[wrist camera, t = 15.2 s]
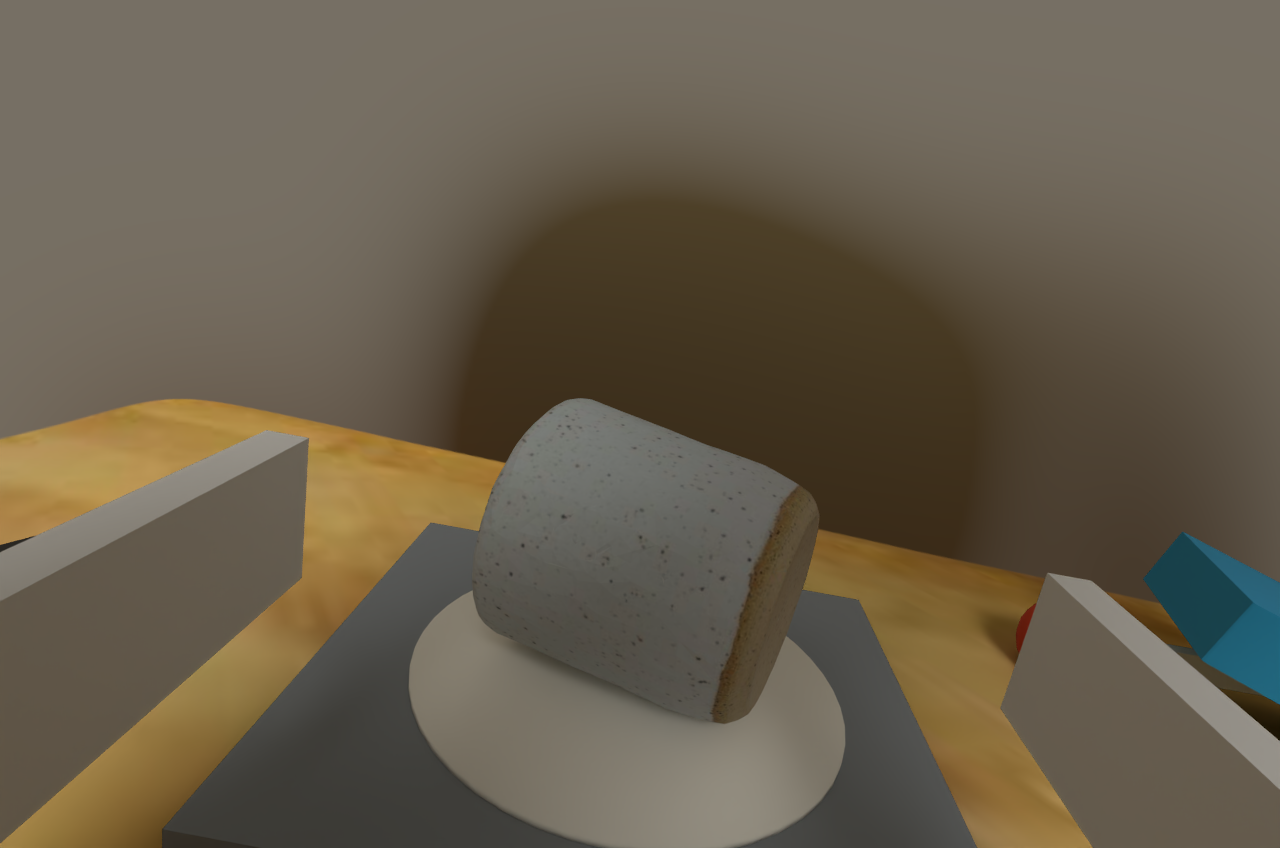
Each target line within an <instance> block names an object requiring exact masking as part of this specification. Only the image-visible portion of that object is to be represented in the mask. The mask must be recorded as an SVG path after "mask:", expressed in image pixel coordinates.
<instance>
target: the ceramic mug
mask: <svg viewBox="0 0 1280 848" xmlns="http://www.w3.org/2000/svg"><path fill="white" fill-rule="evenodd" d="M818 523H819V512H818V509H817V505H816V502H815V500H814V499H813V497H812V495H811V493H809V492H808V491H807V490H805V489H804V488H802V487H801V486H800V485H798V484H796V483H795V482H793V481H792V480H790V479H788V478H786V477H784V476H783V475H781V474H779V473H777V472H776V471H774V470H772V469H771V468H769V467H767V466H765V465H762V464H760V463H757V462H754V461H751V460H749V459H746V458H743V457H740V456H737V455H735V454H732V453H729V452H726V451H723V450H720V449H717V448H714V447H711V446H708V445H705V444H703V443H700V442H698V441H695V440H693V439H691V438H688V437H685V436H683V435H680V434H678V433H676V432H673V431H671V430H668V429H666V428H663V427H660V426H658V425H655V424H653V423H650V422H648V421H645V420H642V419H640V418H637V417H634V416H632V415H629V414H627V413H624V412H622V411H619V410H616V409H614V408H611V407H609V406H606V405H604V404H601V403H599V402H596V401H594V400H591V399H582V398H579V399H571V400H566V401H564V402H563V403H561V404H559V405H557V406H555V407H553V408H552V409H551V410H549V411H548V412H547V413H546V414H545V415H544V416H542V417H541V418H540V419H539V420H538V421H537V422H536V423H534V425H532V427H531V428H530V429H529V430H528V431H527V432H526V433H525V434H524V436H523V437H522V438H521V440H520V441H519V442H518V444H517V445H516V447H515V448H514V449H513V451H512V453H511V455H510V457H509V459H508V461H507V462H506V464H505V466H504V467H503V469H502V471H501V473H500V474H499V476H498V478H497V480H496V482H495V484H494V486H493V488H492V491H491V494H490V497H489V500H488V503H487V506H486V509H485V513H484V516H483V519H482V522H481V525H480V530H479V534H478V538H477V542H476V546H475V550H474V555H473V572H472V587H473V598H474V602H475V606H476V610H477V612H478V615H479V617H480V618H481V619H482V621H483V622H484V623H485V624H486V625H487V626H488V627H489V628H491V629H492V630H493V631H494V632H496V633H497V634H500V635H502V636H505V637H507V638H509V639H512V640H514V641H516V642H519V643H521V644H524V645H526V646H528V647H530V648H532V649H535V650H537V651H539V652H541V653H543V654H546V655H548V656H550V657H552V658H554V659H557V660H559V661H561V662H563V663H565V664H567V665H570V666H572V667H574V668H577V669H579V670H582V671H584V672H586V673H589V674H591V675H594V676H596V677H598V678H601V679H603V680H606V681H608V682H610V683H612V684H614V685H617V686H619V687H621V688H623V689H625V690H627V691H629V692H632V693H634V694H636V695H638V696H640V697H642V698H645V699H647V700H649V701H651V702H653V703H655V704H658V705H660V706H662V707H664V708H667V709H669V710H672V711H675V712H677V713H680V714H682V715H686V716H689V717H693V718H697V719H701V720H705V721H709V722H715V723H721V724H727V723H730V722H733V721H737V720H739V719H741V718H743V717H744V716H746V715H748V714H749V713H750V711H751V710H752V708H753V707H754V706H755V704H756V703H757V701H758V699H759V697H760V695H761V693H762V691H763V689H764V687H765V685H766V683H767V680H768V678H769V676H770V674H771V671H772V669H773V667H774V665H775V662H776V660H777V657H778V655H779V652H780V650H781V647H782V645H783V642H784V640H785V637H786V635H787V632H788V629H789V626H790V623H791V621H792V618H793V615H794V612H795V609H796V606H797V603H798V601H799V598H800V595H801V592H802V589H803V586H804V583H805V580H806V576H807V573H808V569H809V565H810V561H811V558H812V554H813V550H814V546H815V541H816V536H817V532H818Z"/></svg>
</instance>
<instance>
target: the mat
mask: <svg viewBox="0 0 1280 848" xmlns="http://www.w3.org/2000/svg"><path fill="white" fill-rule="evenodd" d="M478 534H479V531H474V530H469V529H463V528H458V527H452V526H447V525H441V524H436V523H430V524H429V525H428V526H427V527H426V529H425V530H424V531H423V532H422V533H421V534H420V535H419V537H418V538H417V539H416V540H415V541H414V542H413V543H412V545H411V546H410V547H409V548H408V549H407V550H406V551H405V553H404V554H403V555H402V556H401V557H400V558H399V559H398V561H397V562H396V563H395V564H394V565H393V566H392V567H391V569H390V570H389V571H388V572H387V573H386V574H385V575H384V577H383V578H382V579H381V580H380V581H379V582H378V583H377V585H376V586H375V587H374V588H373V589H372V590H371V591H370V593H369V594H368V595H367V596H366V597H365V598H364V599H363V601H362V602H361V603H360V604H359V605H358V606H357V607H356V609H355V610H354V611H353V612H352V613H351V614H350V615H349V617H348V618H347V619H346V620H345V621H344V622H343V623H342V625H341V626H340V627H339V628H338V629H337V630H336V631H335V632H334V634H333V635H332V636H331V637H330V638H329V639H328V640H327V642H326V643H325V644H324V645H323V646H322V647H321V648H320V650H319V651H318V652H317V653H316V654H315V655H314V656H313V658H312V659H311V660H310V661H309V662H308V663H307V664H306V666H305V667H304V668H303V669H302V670H301V671H300V672H299V674H298V675H297V676H296V677H295V678H294V679H293V680H292V682H291V683H290V684H289V685H288V686H287V687H286V688H285V690H284V691H283V692H282V693H281V694H280V695H279V696H278V698H277V699H276V700H275V701H274V702H273V703H272V704H271V706H270V707H269V708H268V709H267V710H266V711H265V712H264V714H263V715H262V716H261V717H260V718H259V719H258V720H257V722H256V723H255V724H254V725H253V726H252V727H251V728H250V730H249V731H248V732H247V733H246V734H245V735H244V736H243V738H242V739H241V740H240V741H239V742H238V743H237V744H236V746H235V747H234V748H233V749H232V750H231V751H230V752H229V754H228V755H227V756H226V757H225V758H224V759H223V760H222V762H221V763H220V764H219V765H218V766H217V767H216V768H215V770H214V771H213V772H212V773H211V774H210V775H209V776H208V778H207V779H206V780H205V781H204V782H203V783H202V784H201V786H200V787H199V788H198V789H197V790H196V791H195V792H194V794H193V795H192V796H191V797H190V798H189V799H188V800H187V802H186V803H185V804H184V805H183V806H182V807H181V808H180V810H179V811H178V812H177V813H176V814H175V815H174V816H173V818H172V819H171V820H170V821H169V822H168V823H167V824H166V825H165V827H164V828H163V829H162V848H977V847H976V844H975V842H974V840H973V838H972V836H971V834H970V832H969V830H968V828H967V826H966V824H965V821H964V819H963V817H962V815H961V813H960V811H959V809H958V807H957V805H956V803H955V800H954V798H953V796H952V794H951V792H950V790H949V788H948V786H947V784H946V782H945V780H944V777H943V775H942V773H941V771H940V769H939V767H938V765H937V763H936V761H935V759H934V757H933V754H932V752H931V750H930V748H929V746H928V744H927V742H926V740H925V738H924V736H923V734H922V731H921V729H920V727H919V725H918V723H917V721H916V719H915V717H914V715H913V713H912V711H911V708H910V706H909V704H908V702H907V700H906V698H905V696H904V694H903V692H902V690H901V688H900V685H899V683H898V681H897V679H896V677H895V675H894V673H893V671H892V669H891V667H890V665H889V662H888V660H887V658H886V656H885V654H884V652H883V650H882V648H881V646H880V644H879V642H878V639H877V637H876V635H875V633H874V631H873V629H872V627H871V625H870V623H869V621H868V619H867V616H866V614H865V612H864V610H863V608H862V606H861V604H860V602H859V600H856V599H851V598H845V597H840V596H834V595H829V594H823V593H818V592H812V591H806V590H802V592H801V595H800V598H799V601H798V603H797V606H796V609H795V612H794V615H793V618H792V621H791V623H790V626H789V629H788V632H787V635H786V637H785V640H784V642H783V645H782V647H781V650H780V652H779V655H778V657H777V660H776V662H775V665H774V667H773V669H772V671H771V674H770V676H769V678H768V680H767V683H766V685H765V687H764V689H763V691H762V693H761V695H760V697H759V699H758V701H757V703H756V704H755V706H754V707H753V708H752V710H751V711H750V713H749V714H748V715H746V716H744V717H743V718H741V719H739V720H737V721H733V722H730V723H727V724H721V723H715V722H709V721H705V720H701V719H697V718H693V717H689V716H686V715H682V714H680V713H677V712H675V711H672V710H669V709H667V708H664V707H662V706H660V705H658V704H655V703H653V702H651V701H649V700H647V699H645V698H642V697H640V696H638V695H636V694H634V693H632V692H629V691H627V690H625V689H623V688H621V687H619V686H617V685H614V684H612V683H610V682H608V681H606V680H603V679H601V678H598V677H596V676H594V675H591V674H589V673H586V672H584V671H582V670H579V669H577V668H574V667H572V666H570V665H567V664H565V663H563V662H561V661H559V660H557V659H554V658H552V657H550V656H548V655H546V654H543V653H541V652H539V651H537V650H535V649H532V648H530V647H528V646H526V645H524V644H521V643H519V642H516V641H514V640H512V639H509V638H507V637H505V636H502V635H500V634H497V633H496V632H494V631H493V630H492V629H491V628H489V627H488V626H487V625H486V624H485V623H484V622H483V621H482V619H481V618H480V617H479V615H478V612H477V610H476V606H475V602H474V598H473V587H472V572H473V555H474V550H475V546H476V542H477V538H478Z"/></svg>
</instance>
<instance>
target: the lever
mask: <svg viewBox="0 0 1280 848" xmlns="http://www.w3.org/2000/svg"><path fill="white" fill-rule="evenodd" d="M1143 580H1144V581H1145V582H1146V583H1147V585H1148V586H1149V588H1150V589H1151V591H1152V592H1153V593H1154V595H1155V596H1156V598H1157V599H1158V600H1159V602H1160V603H1161V605H1162V606H1163V607H1164V609H1165V610H1166V611H1167V613H1168V614H1169V616H1170V617H1171V618H1172V620H1173V621H1174V623H1175V624H1176V625H1177V627H1178V628H1179V630H1180V631H1181V632H1182V634H1183V635H1184V636H1185V638H1186V639H1187V641H1188V642H1189V643H1190V645H1191V646H1192V648H1193V649H1192V648H1186V647H1180V646H1175V645H1169V644H1166V645H1167V646H1169V647H1170V648H1171V649H1172V650H1173V651H1174V652H1176V653H1177V654H1178V655H1179V656H1180V657H1182V658H1183V659H1184V660H1185V661H1186V662H1187V663H1189V664H1190V665H1191V666H1192V667H1193V668H1194V669H1196V670H1197V671H1198V672H1199V673H1200V674H1202V675H1203V676H1204V677H1205V678H1206V679H1207V680H1209V681H1210V682H1211V683H1212V684H1213V685H1214V686H1216V687H1217V688H1222V689H1227V690H1233V691H1238V692H1244V693H1249V694H1255V695H1260V696H1265V697H1267V698H1269V699H1271V700H1272V701H1274V702H1276V703H1278V704H1279V705H1280V583H1279V582H1277V581H1275V580H1273V579H1272V578H1270V577H1268V576H1266V575H1264V574H1262V573H1260V572H1258V571H1256V570H1254V569H1252V568H1251V567H1249V566H1247V565H1245V564H1243V563H1241V562H1239V561H1237V560H1235V559H1234V558H1232V557H1230V556H1228V555H1226V554H1224V553H1222V552H1220V551H1218V550H1216V549H1215V548H1213V547H1211V546H1209V545H1207V544H1205V543H1203V542H1201V541H1199V540H1198V539H1195V538H1194V537H1192V536H1190V535H1188V534H1186V533H1184V532H1182V533H1181V534H1180V535H1179V536H1178V538H1177V539H1176V540H1175V541H1174V542H1173V544H1172V545H1171V546H1170V547H1169V548H1168V550H1167V551H1166V552H1165V553H1164V554H1163V556H1162V557H1161V558H1160V559H1159V560H1158V562H1157V563H1156V564H1155V565H1154V566H1153V568H1152V569H1151V570H1150V571H1149V573H1148V574H1147V575H1146V576H1145V577H1144V579H1143ZM1036 604H1037V603H1036ZM1036 604H1034V605H1033V606H1032V607H1030V608H1029V609H1028V610H1027V611H1026V612H1025V613H1024V614H1023V616H1022V617H1021V619H1020V621H1019V624H1018V627H1017V632H1016V643H1017V650H1018V652H1019V653H1020V650H1021V647H1022V644H1023V641H1024V639H1025V636H1026V633H1027V630H1028V627H1029V624H1030V621H1031V618H1032V616H1033V613H1034V610H1035V607H1036Z"/></svg>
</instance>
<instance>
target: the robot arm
mask: <svg viewBox="0 0 1280 848" xmlns="http://www.w3.org/2000/svg"><path fill="white" fill-rule="evenodd" d="M308 443H309V438H306V437H300V436H295V435H289V434H284V433H278V432H273V431H267V430H266V431H264V432H262V433H260V434H258V435H255V436H253V437H251V438H249V439H247V440H244V441H242V442H240V443H238V444H236V445H233V446H231V447H229V448H227V449H225V450H223V451H220V452H218V453H216V454H214V455H212V456H209V457H207V458H205V459H203V460H201V461H199V462H196V463H194V464H192V465H190V466H188V467H185V468H183V469H181V470H179V471H177V472H174V473H172V474H170V475H168V476H166V477H164V478H161V479H159V480H157V481H155V482H153V483H150V484H148V485H146V486H144V487H142V488H140V489H137V490H135V491H133V492H131V493H129V494H126V495H124V496H122V497H120V498H118V499H116V500H113V501H111V502H109V503H107V504H105V505H102V506H100V507H98V508H96V509H94V510H91V511H89V512H87V513H85V514H83V515H81V516H78V517H76V518H74V519H72V520H70V521H67V522H65V523H63V524H61V525H59V526H57V527H54V528H52V529H50V530H48V531H46V532H43V533H41V534H39V535H37V536H33V537H29V538H25V539H22V540H18V541H14V542H10V543H6V544H2V545H0V843H1V842H2V841H4V840H5V839H6V838H7V837H8V836H9V835H10V834H11V833H13V832H14V831H15V830H16V829H17V828H18V827H19V826H21V825H22V824H23V823H24V822H25V821H26V820H27V819H29V818H30V817H31V816H32V815H33V814H34V813H35V812H36V811H38V810H39V809H40V808H41V807H42V806H43V805H44V804H46V803H47V802H48V801H49V800H50V799H51V798H52V797H53V796H55V795H56V794H57V793H58V792H59V791H60V790H61V789H63V788H64V787H65V786H66V785H67V784H68V783H69V782H71V781H72V780H73V779H74V778H75V777H76V776H77V775H78V774H80V773H81V772H82V771H83V770H84V769H85V768H86V767H88V766H89V765H90V764H91V763H92V762H93V761H94V760H95V759H97V758H98V757H99V756H100V755H101V754H102V753H103V752H105V751H106V750H107V749H108V748H109V747H110V746H111V745H113V744H114V743H115V742H116V741H117V740H118V739H119V738H120V737H122V736H123V735H124V734H125V733H126V732H127V731H128V730H130V729H131V728H132V727H133V726H134V725H135V724H136V723H137V722H139V721H140V720H141V719H142V718H143V717H144V716H145V715H147V714H148V713H149V712H150V711H151V710H152V709H153V708H155V707H156V706H157V705H158V704H159V703H160V702H161V701H162V700H164V699H165V698H166V697H167V696H168V695H169V694H170V693H172V692H173V691H174V690H175V689H176V688H177V687H178V686H179V685H181V684H182V683H183V682H184V681H185V680H186V679H187V678H189V677H190V676H191V675H192V674H193V673H194V672H195V671H197V670H198V669H199V668H200V667H201V666H202V665H203V664H204V663H206V662H207V661H208V660H209V659H210V658H211V657H212V656H214V655H215V654H216V653H217V652H218V651H219V650H220V649H221V648H223V647H224V646H225V645H226V644H227V643H228V642H229V641H231V640H232V639H233V638H234V637H235V636H236V635H237V634H239V633H240V632H241V631H242V630H243V629H244V628H245V627H246V626H248V625H249V624H250V623H251V622H252V621H253V620H254V619H256V618H257V617H258V616H259V615H260V614H261V613H262V612H263V611H265V610H266V609H267V608H268V607H269V606H270V605H271V604H273V603H274V602H275V601H276V600H277V599H278V598H279V597H281V596H282V595H283V594H284V593H285V592H286V591H287V590H288V589H290V588H291V587H292V586H293V585H294V584H295V583H296V582H298V581H299V580H300V579H301V578H302V561H303V541H304V522H305V502H306V482H307V463H308ZM1001 710H1002V711H1003V713H1004V714H1005V716H1006V717H1007V719H1008V720H1009V722H1010V723H1011V725H1012V726H1013V728H1014V729H1015V731H1016V732H1017V734H1018V735H1019V737H1020V738H1021V740H1022V741H1023V743H1024V744H1025V746H1026V747H1027V749H1028V750H1029V752H1030V753H1031V755H1032V756H1033V758H1034V759H1035V761H1036V763H1037V764H1038V766H1039V767H1040V769H1041V770H1042V772H1043V773H1044V775H1045V776H1046V778H1047V779H1048V781H1049V782H1050V784H1051V785H1052V787H1053V788H1054V790H1055V791H1056V793H1057V794H1058V796H1059V797H1060V799H1061V800H1062V802H1063V803H1064V805H1065V806H1066V808H1067V809H1068V811H1069V812H1070V814H1071V815H1072V817H1073V818H1074V820H1075V821H1076V823H1077V824H1078V826H1079V827H1080V829H1081V830H1082V832H1083V833H1084V835H1085V836H1086V838H1087V839H1088V841H1089V842H1090V844H1091V845H1092V847H1093V848H1280V741H1279V740H1278V739H1277V738H1276V737H1274V736H1273V735H1272V734H1271V733H1270V732H1268V731H1267V730H1266V729H1265V728H1264V727H1263V726H1261V725H1260V724H1259V723H1258V722H1257V721H1256V720H1254V719H1253V718H1252V717H1251V716H1250V715H1248V714H1247V713H1246V712H1245V711H1244V710H1243V709H1241V708H1240V707H1239V706H1238V705H1237V704H1236V703H1234V702H1233V701H1232V700H1231V699H1230V698H1229V697H1227V696H1226V695H1225V694H1224V693H1223V692H1221V691H1220V690H1219V689H1218V688H1217V687H1216V686H1214V685H1213V684H1212V683H1211V682H1210V681H1209V680H1207V679H1206V678H1205V677H1204V676H1203V675H1202V674H1200V673H1199V672H1198V671H1197V670H1196V669H1194V668H1193V667H1192V666H1191V665H1190V664H1189V663H1187V662H1186V661H1185V660H1184V659H1183V658H1182V657H1180V656H1179V655H1178V654H1177V653H1176V652H1174V651H1173V650H1172V649H1171V648H1170V647H1169V646H1167V645H1166V644H1165V643H1164V642H1163V641H1162V640H1160V639H1159V638H1158V637H1157V636H1156V635H1155V634H1153V633H1152V632H1151V631H1150V630H1149V629H1147V628H1146V627H1145V626H1144V625H1143V624H1142V623H1140V622H1139V621H1138V620H1137V619H1136V618H1135V617H1133V616H1132V615H1131V614H1130V613H1129V612H1127V611H1126V610H1125V609H1124V608H1123V607H1122V606H1120V605H1119V604H1118V603H1117V602H1116V601H1115V600H1113V599H1112V598H1111V597H1110V596H1109V595H1108V594H1106V593H1105V592H1104V591H1103V590H1102V589H1100V588H1099V587H1098V586H1097V585H1096V584H1094V583H1093V582H1092V581H1090V580H1084V579H1079V578H1073V577H1068V576H1063V575H1057V574H1052V573H1047V575H1046V578H1045V581H1044V584H1043V587H1042V590H1041V592H1040V595H1039V598H1038V601H1037V604H1036V607H1035V610H1034V613H1033V616H1032V618H1031V621H1030V624H1029V627H1028V630H1027V633H1026V636H1025V639H1024V641H1023V644H1022V647H1021V650H1020V653H1019V656H1018V659H1017V662H1016V665H1015V667H1014V670H1013V673H1012V676H1011V679H1010V682H1009V685H1008V688H1007V690H1006V693H1005V696H1004V699H1003V702H1002V705H1001Z"/></svg>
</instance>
